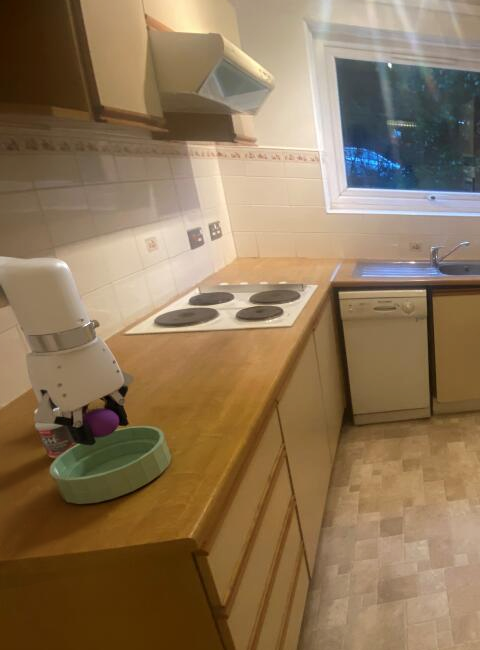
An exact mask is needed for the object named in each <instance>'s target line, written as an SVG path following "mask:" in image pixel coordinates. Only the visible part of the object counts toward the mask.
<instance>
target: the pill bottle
mask: <svg viewBox="0 0 480 650" xmlns="http://www.w3.org/2000/svg"><path fill="white" fill-rule="evenodd" d="M37 410H38V408H36V409H35V410H34V412H33V413H34V416H35V415H36V412H37ZM52 415H53V416H60V409H59V407H58V408H55V409H54V410H53V412H52ZM34 423H35V424H34V429H35V430H36V432H37V435H38V437H39V439H40V441H41V443H42V445H43V447H44V449H45V451H46V453H47V455H48V457H50V459H51V458H52V459H56V458H57V457H58V456H60V455H61V454H62V453H64V452H65V451H66V450H68V449H70V448H71V447H73V446H75V445H77V444H78V443H76V442H75V441H74V440H73V438H72V436H71V434H70V432H69V430H68V427H67V426H63V425H58V424H48V423H38V422H34Z"/></svg>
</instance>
